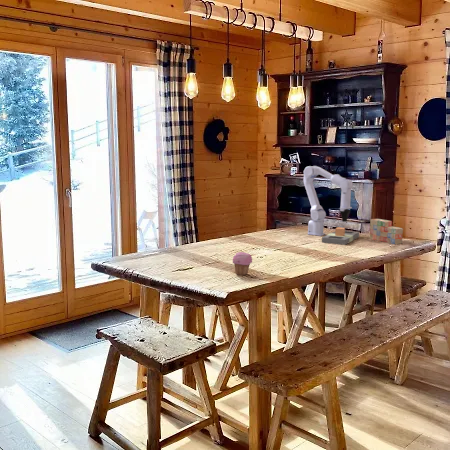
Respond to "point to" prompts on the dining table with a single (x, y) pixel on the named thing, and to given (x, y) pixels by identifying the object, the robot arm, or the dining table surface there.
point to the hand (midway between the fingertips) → (344, 221)
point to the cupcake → (242, 263)
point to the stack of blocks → (385, 231)
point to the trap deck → (340, 238)
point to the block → (340, 231)
